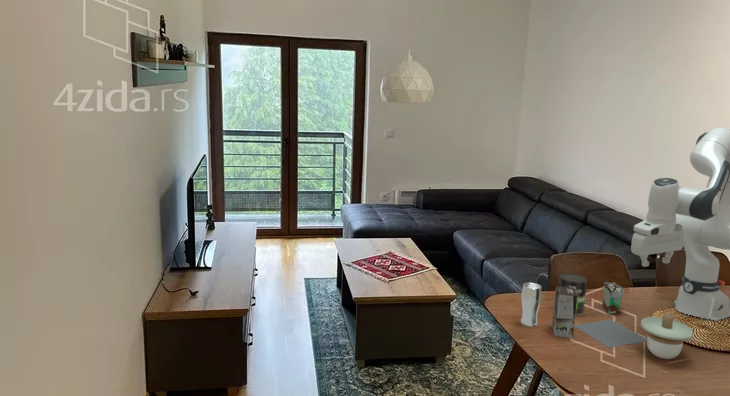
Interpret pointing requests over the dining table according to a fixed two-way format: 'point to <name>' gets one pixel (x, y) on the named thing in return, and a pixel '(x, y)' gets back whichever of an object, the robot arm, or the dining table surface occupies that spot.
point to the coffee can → (575, 288)
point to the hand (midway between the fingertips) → (655, 264)
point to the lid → (667, 327)
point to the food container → (612, 297)
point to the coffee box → (564, 311)
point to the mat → (610, 333)
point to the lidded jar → (664, 346)
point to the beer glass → (530, 303)
